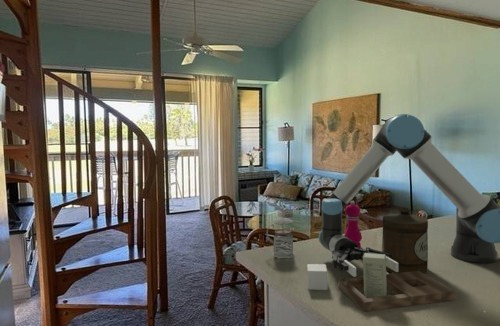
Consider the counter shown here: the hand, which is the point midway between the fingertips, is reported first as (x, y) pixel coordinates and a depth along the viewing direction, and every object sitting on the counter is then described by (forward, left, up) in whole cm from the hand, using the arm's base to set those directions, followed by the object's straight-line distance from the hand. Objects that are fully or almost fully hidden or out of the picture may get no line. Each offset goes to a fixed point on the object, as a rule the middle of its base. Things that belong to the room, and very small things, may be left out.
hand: (376, 269), depth 103 cm
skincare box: (0, -1, -8) cm, 8 cm away
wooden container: (-21, -18, -8) cm, 29 cm away
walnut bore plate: (-6, -1, -8) cm, 10 cm away
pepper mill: (-15, -45, -8) cm, 48 cm away
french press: (+17, -44, -8) cm, 48 cm away
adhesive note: (+14, -12, -8) cm, 20 cm away
